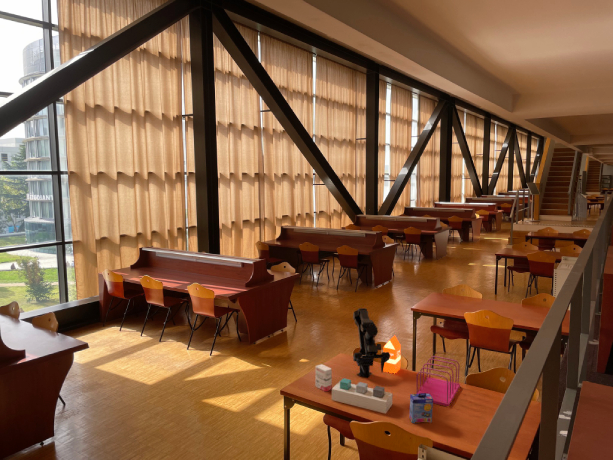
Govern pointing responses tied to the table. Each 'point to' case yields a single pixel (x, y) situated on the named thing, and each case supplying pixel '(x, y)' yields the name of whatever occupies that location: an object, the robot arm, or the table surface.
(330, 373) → the ink box
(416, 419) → the ink cartridge box
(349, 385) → the teal key
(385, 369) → the orange juice
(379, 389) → the charcoal key
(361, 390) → the slate key
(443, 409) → the table surface
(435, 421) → the table surface
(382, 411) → the keypad
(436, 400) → the file sorter
